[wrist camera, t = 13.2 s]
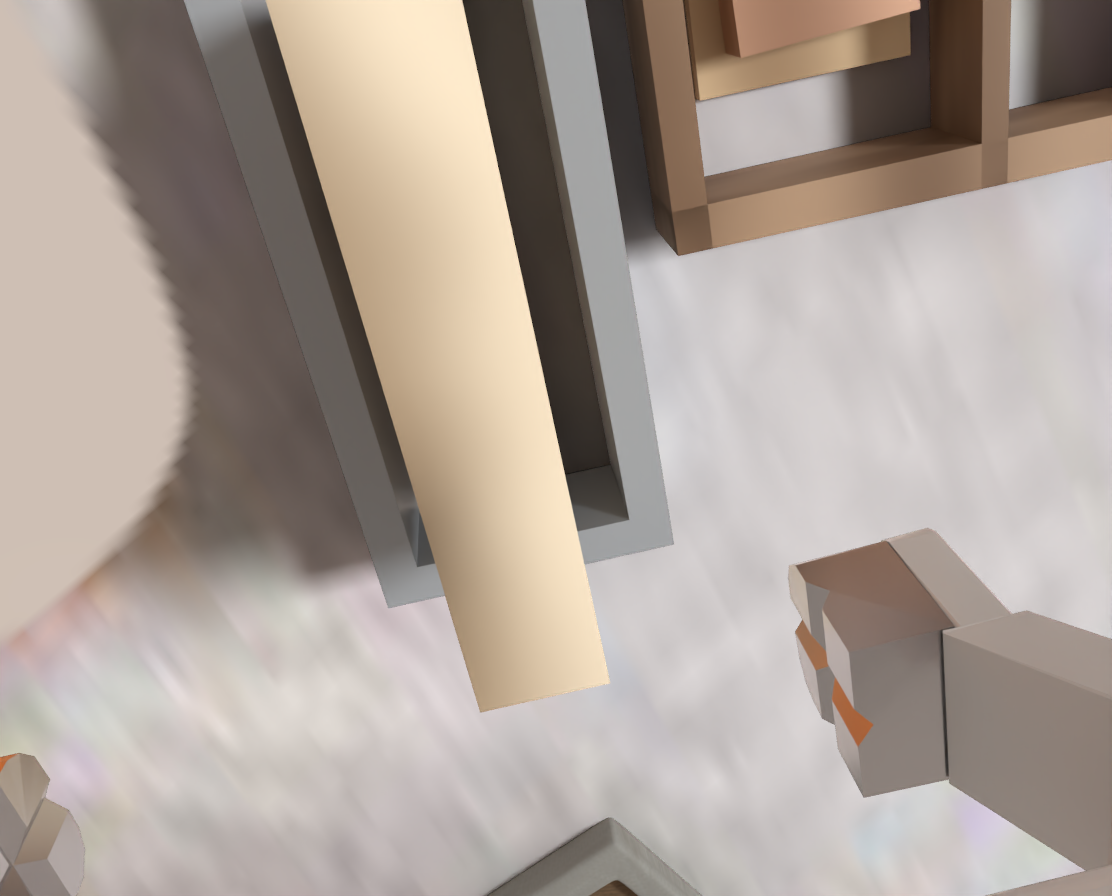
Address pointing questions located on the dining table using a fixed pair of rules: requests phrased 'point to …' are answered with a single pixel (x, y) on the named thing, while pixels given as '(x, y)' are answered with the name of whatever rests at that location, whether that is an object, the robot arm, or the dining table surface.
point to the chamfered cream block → (448, 328)
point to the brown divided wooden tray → (863, 168)
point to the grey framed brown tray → (599, 869)
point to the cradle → (335, 322)
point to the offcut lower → (784, 52)
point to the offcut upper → (797, 20)
